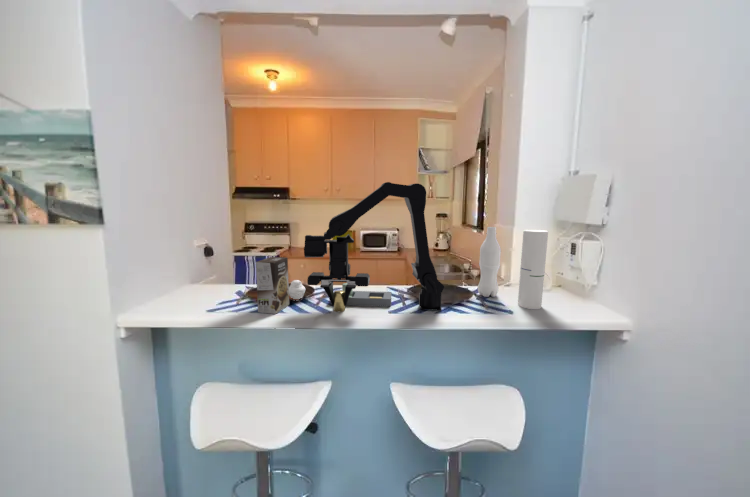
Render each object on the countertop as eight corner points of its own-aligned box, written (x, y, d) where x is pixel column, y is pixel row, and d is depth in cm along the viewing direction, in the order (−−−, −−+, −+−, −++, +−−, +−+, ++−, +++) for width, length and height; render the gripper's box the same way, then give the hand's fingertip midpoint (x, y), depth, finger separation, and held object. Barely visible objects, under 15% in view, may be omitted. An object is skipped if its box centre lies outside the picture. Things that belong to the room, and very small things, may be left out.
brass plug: (346, 308, 103) (346, 290, 102) (343, 312, 99) (343, 293, 98) (335, 308, 103) (335, 290, 102) (332, 311, 100) (332, 293, 99)
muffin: (292, 295, 116) (291, 277, 114) (308, 297, 114) (307, 278, 113) (284, 301, 110) (283, 281, 108) (301, 302, 108) (300, 282, 107)
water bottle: (499, 294, 118) (504, 227, 114) (495, 299, 112) (500, 228, 108) (480, 291, 122) (484, 226, 118) (474, 296, 116) (478, 227, 112)
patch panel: (391, 298, 113) (391, 291, 112) (390, 306, 105) (390, 298, 104) (335, 297, 114) (335, 289, 114) (330, 304, 106) (330, 296, 106)
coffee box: (276, 314, 97) (274, 262, 95) (257, 312, 99) (254, 261, 96) (290, 304, 106) (288, 256, 104) (272, 303, 107) (270, 256, 105)
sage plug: (343, 299, 112) (343, 282, 111) (353, 299, 112) (353, 283, 111) (341, 302, 108) (341, 285, 107) (351, 303, 108) (351, 285, 107)
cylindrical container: (522, 300, 112) (528, 229, 108) (544, 305, 107) (551, 230, 103) (514, 305, 107) (519, 230, 103) (536, 310, 102) (543, 232, 98)
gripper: (371, 253, 106) (371, 298, 108) (315, 252, 107) (317, 296, 110) (367, 259, 95) (367, 309, 97) (306, 258, 96) (307, 307, 99)
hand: (339, 305), depth 101 cm, fingers open, 4 cm apart
